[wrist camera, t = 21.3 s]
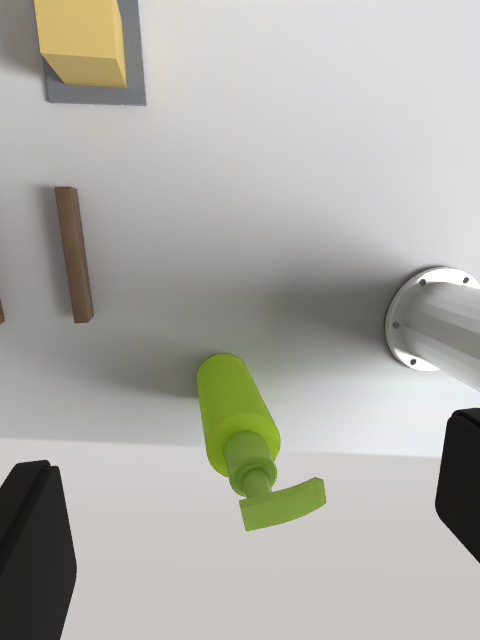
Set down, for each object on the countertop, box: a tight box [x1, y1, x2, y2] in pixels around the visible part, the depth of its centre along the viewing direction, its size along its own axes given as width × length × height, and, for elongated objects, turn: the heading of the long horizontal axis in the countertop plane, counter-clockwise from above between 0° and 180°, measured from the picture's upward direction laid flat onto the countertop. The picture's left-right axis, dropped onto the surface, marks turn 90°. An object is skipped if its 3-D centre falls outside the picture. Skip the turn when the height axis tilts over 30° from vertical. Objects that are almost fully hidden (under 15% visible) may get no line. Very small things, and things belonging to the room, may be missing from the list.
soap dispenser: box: [196, 353, 326, 531], centre depth 31 cm, size 6×7×20 cm
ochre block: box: [34, 0, 127, 88], centre depth 28 cm, size 5×5×6 cm
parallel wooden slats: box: [0, 187, 94, 324], centre depth 33 cm, size 9×12×2 cm
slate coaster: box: [43, 0, 146, 106], centre depth 31 cm, size 8×8×1 cm
